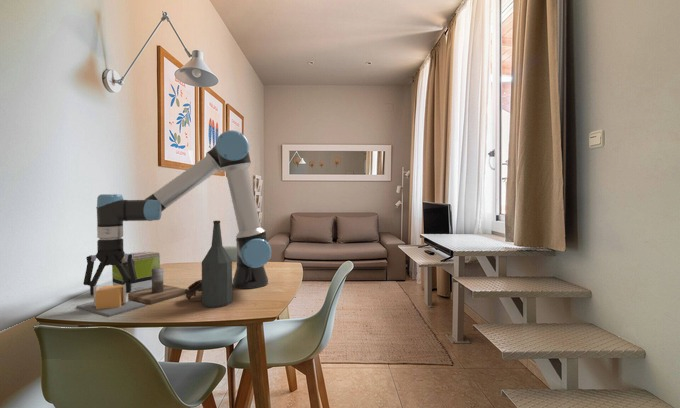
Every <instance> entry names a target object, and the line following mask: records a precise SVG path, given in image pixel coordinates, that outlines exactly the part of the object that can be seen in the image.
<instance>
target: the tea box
mask: <svg viewBox="0 0 680 408" xmlns="http://www.w3.org/2000/svg"><path fill="white" fill-rule="evenodd" d="M131 253H133V254H134V257H133V262H134V267H135V271H136V276H137V280H136V281H135V282H132V283H131V292H130V293H132V292H136V291H140V290H144V289H149V288H152V269H154V268H161V263H160V262H161V258H160V256H161V255H160V252H157V251H149V250H146V251H140V252H131ZM131 253H129V254H131ZM121 261H122V263H123V266H124V268H125V269H126V271H127V273H128V275H129V277H130V279H131V276H130V272H129V267H128V263H127V260H126V258H125V257H123V259H122V260H121ZM111 267H112V270H111V271H112V276H111V277H112V286H115V285H124V284H125V281H124V279H123V277H122V275H121V274H120V272H119V270H118V268H117V267H116V265H111Z"/></svg>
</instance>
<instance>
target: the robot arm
mask: <svg viewBox="0 0 680 408" xmlns="http://www.w3.org/2000/svg"><path fill="white" fill-rule="evenodd" d="M249 151H250V143H249V141H248V139H247V137H246V136H245V135H244V134H243V133H241V132H240V131H237V130H226V131H224V132H222V133H220V135H219V136H218V137H217V139H216V142H215V145H214V146H213V147H212V148H211V149H210V150H208V151H207V152H205V153H206V154H205V156H204V157H203V158H201V159H200V160H199V161H197V162H196V163H195V164H193V165H191V166H190V167H189V168H187V169H186V170H185V171H183V172H182V173H181V174H180V173H179V175H178V176H176V177H175V178H173V179H172V180H171V181H169V182H168V183H166V184H164V185H163V186H161V187H160V188H159V189H158V190H156V191H155V192H153V193H152V194H150V195H149V196H148V197H146V198H145V199H130V200H129V199H124V196H123V194H117V193H116V194H115V193H114V194H113V193H111V194H110V193H109V194H99V195H98V196H97V200H96V221H97V222H96V224H97V225H96V231H97V233H96V234H97V235H96V238H97V239H98V240H97V242H96V243H97V244H96V245H97V249H96V251H97V253H96V254H93V255H92V254H91V255H88V256H86V263H87V264H86V269H85V274H84V278H83V285H84V286H89V287H90V289H89V290H90V291H89V292H90V294H89V295H90V296H91V297H92V296H93V302H94V306H96V291H97V290H98V289H100V284H98V281H99V279H100V277H101V275H102V273H103V271H104V269H105V267H106V266H112V265H116V267H117V268H118V270H119V272H120V274H121V275H122V277H123V279H124V281H125V284H124V285H123V303H126V302H127V301H128V300H129V299H128V293H132V292H131V283H132V282H135V281H136V280H137V276H136V271H135V267H134V262H133V257H134V254H133V253H134V252H131V254H130V253H125V251H124V222H136V221H137V222H143V221H144V222H146V221H149V222H151V221H160V220H161V219H162V212H163V211H165V210H166V209H167V208H169V207H170V206H171V205H172V204H174V203H175V202H177V201H178V200H180V199H181V198H183V197H184V196H186V195H187V194H189V192H191V191H192V190H194V189H195V188H196V187H197V186H199V185H201V184H202V183H204V181H206V180H207V179H209V178H210V177H211V176H213V175H215V174H216V173H217V172H225V174H226V179H227V184H228V187H229V193H230V197H231V201H232V202H231V203H232V206H233V210H234V211H233V212H234V216H235V220H236V225H237V229H238V233H237V234H236V236H235V237H236V238H235V241H236V268H235V272H234V275H233V276H234V277H232V287H234V288H237V289H255V288H261V287H265V286H267V285H268V284H269V278H268V275H267V272H266V269H265V265H266V264H267V263H269V261H270V260H271V258H272V247H271V245H270V243H269V242H268V236H267V231H266V229H264V228H263V227H262V226H261V222H260V218H259V213H258V208H257V204H256V199H255V193H254V189H253V186H252V180H251V176H250V171H249V167H250V166H251V164H252V163H251V158H250V152H249ZM123 257H125V258H126V260H127V263H128V267H129V272H130V276H131V279H130V277H129V275H128V273H127V271H126V269H125V268H124V266H123V263H122V261H121V260H122V259H123ZM96 259H97V260H98V261H99V265H98V266H97V269H96V271H95V273H94V276H93V277H92V275H93V270H94V266H95V261H96Z"/></svg>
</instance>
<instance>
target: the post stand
mask: <svg viewBox="0 0 680 408" xmlns="http://www.w3.org/2000/svg"><path fill="white" fill-rule="evenodd" d="M186 289H188V288H183V287H179V286H174V285H173V286H171V285H166V284H164V268H163V267H160V268H154V269H152V288H148V289H143V290H138V291H134V292H130V293H128V300H129V301H133V302H138V301H139V302H138V303H142V304H146V305H147V304H148V305H154V304H157V303H161V302H164V301H168V300H171V299H174V298H179V297H181V296H184V295H185V296H186V293H185V290H186ZM188 290H189V289H188Z"/></svg>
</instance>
